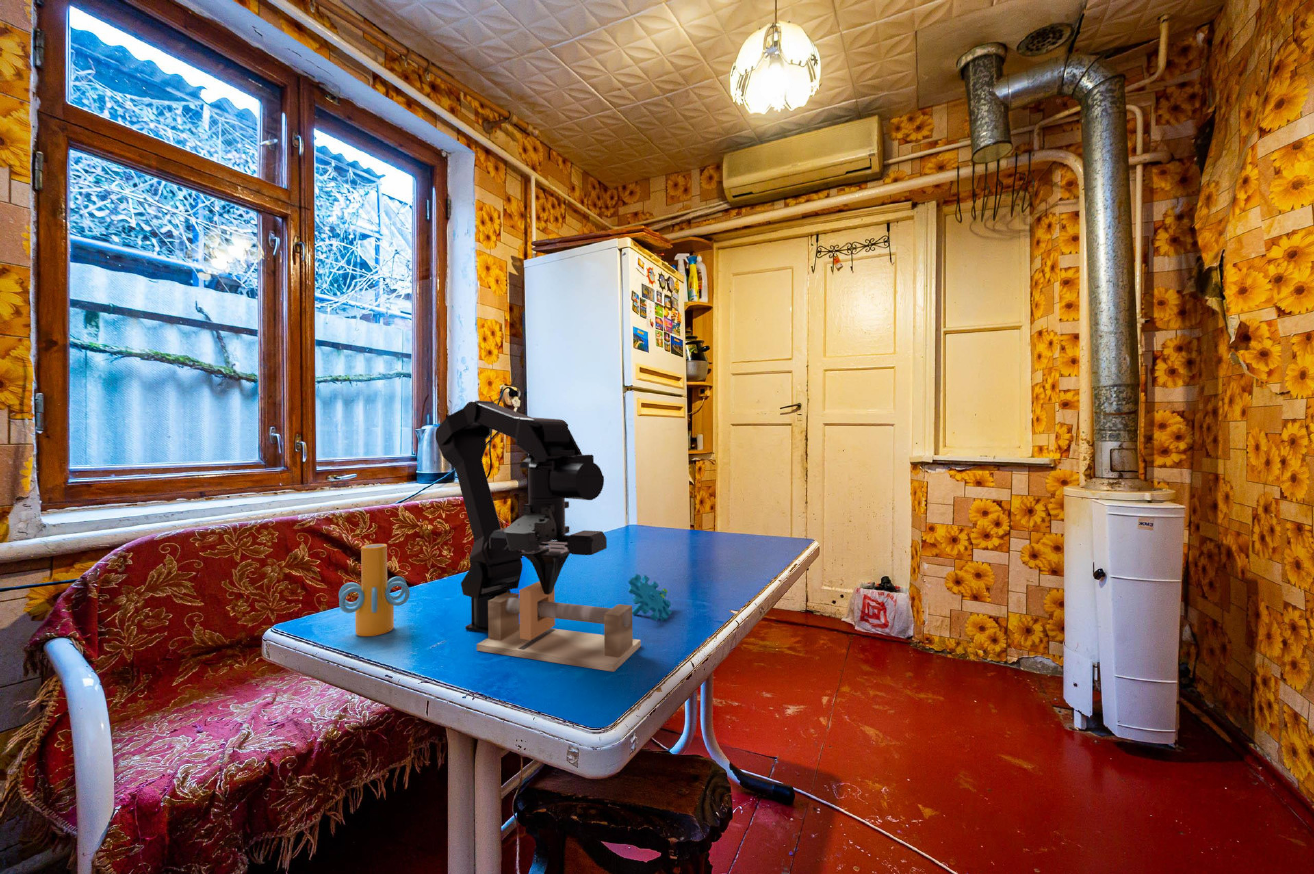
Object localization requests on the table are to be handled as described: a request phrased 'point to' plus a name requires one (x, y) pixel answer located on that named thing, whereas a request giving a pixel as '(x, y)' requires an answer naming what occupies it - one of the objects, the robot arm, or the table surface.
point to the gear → (649, 598)
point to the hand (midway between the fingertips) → (548, 593)
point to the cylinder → (373, 593)
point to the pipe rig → (562, 634)
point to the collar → (533, 611)
